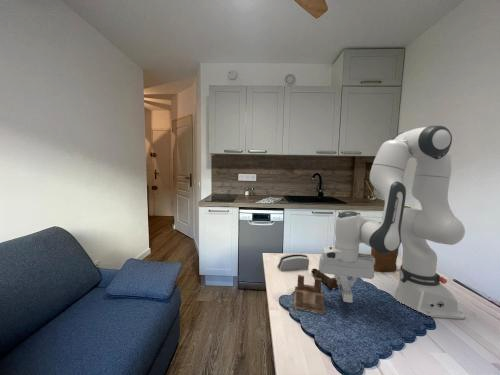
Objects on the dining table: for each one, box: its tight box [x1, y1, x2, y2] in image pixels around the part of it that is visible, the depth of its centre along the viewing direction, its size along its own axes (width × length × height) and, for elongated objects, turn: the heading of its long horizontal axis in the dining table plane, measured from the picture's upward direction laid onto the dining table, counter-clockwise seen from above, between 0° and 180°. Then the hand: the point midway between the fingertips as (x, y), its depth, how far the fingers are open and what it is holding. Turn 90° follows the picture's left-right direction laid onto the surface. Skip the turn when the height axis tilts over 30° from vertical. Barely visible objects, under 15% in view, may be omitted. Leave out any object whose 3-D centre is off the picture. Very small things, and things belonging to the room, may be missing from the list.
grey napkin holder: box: [277, 252, 310, 271], centre depth 119 cm, size 17×5×10 cm, turn 101°
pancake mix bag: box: [370, 221, 402, 273], centre depth 118 cm, size 7×19×28 cm, turn 97°
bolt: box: [310, 268, 339, 290], centre depth 106 cm, size 6×5×15 cm
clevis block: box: [292, 274, 326, 315], centre depth 91 cm, size 12×15×7 cm
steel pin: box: [338, 275, 354, 304], centre depth 88 cm, size 3×16×3 cm, turn 165°
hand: (344, 285), depth 88 cm, fingers closed on steel pin, 3 cm apart
